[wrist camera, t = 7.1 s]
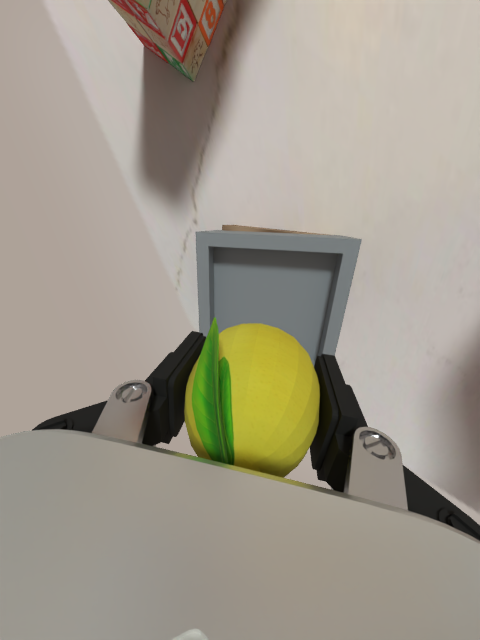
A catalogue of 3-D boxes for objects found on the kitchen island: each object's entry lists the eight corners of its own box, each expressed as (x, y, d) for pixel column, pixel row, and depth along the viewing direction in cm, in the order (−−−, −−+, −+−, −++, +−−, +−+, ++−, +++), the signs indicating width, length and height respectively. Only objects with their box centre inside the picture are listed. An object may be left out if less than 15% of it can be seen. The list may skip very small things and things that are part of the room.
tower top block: (340, 235, 21) (361, 239, 16) (318, 345, 26) (328, 380, 20) (218, 230, 23) (195, 231, 17) (218, 334, 28) (200, 363, 22)
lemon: (284, 407, 15) (286, 703, 6) (201, 371, 15) (70, 606, 6) (339, 320, 12) (521, 634, 3) (236, 277, 12) (84, 444, 3)
